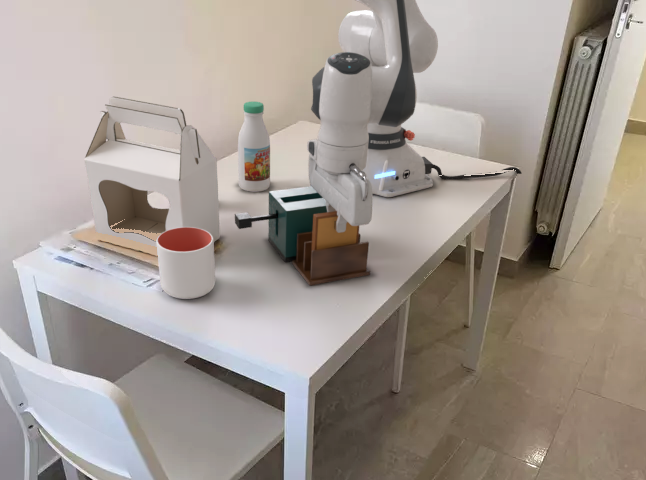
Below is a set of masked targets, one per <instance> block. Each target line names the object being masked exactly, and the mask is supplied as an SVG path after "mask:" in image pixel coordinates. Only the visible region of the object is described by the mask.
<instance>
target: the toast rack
mask: <svg viewBox="0 0 646 480" xmlns="http://www.w3.org/2000/svg"><path fill="white" fill-rule="evenodd" d="M312 232H313V231H312ZM312 232H305V233H299V234H297V256H296V260H292V261H291V264H292V265H293V267H294V268H295V269H296V270H297V272H298V273H299V274H300V275H301V277H302V278H303V279H304V280H305V281H306V283H307V284H308V286H315V285H321V284H325V283H326V284H327V283H332V282H337V281H338V282H339V281H343V280H349V279H354V278H360V277H365V276H370V275H371V270H370V269H369V268H368V258H369V257H368V256H369V246H370V242H369V241H368V240H367V241H361V233H360V232H359V236H358V243H355V244H348V245H342V246H336V247H330V248H323V249H317V250H312ZM311 250H312V253H311Z"/></svg>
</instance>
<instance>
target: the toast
mask: <svg viewBox="0 0 646 480" xmlns="http://www.w3.org/2000/svg"><path fill="white" fill-rule="evenodd" d="M337 218H338V215H337V211H334V212H326V213H318V214H313V232H312V250H317V249H323V248H330V247H336V246H342V245H348V244H355V243H358V236H359V233H360V226H352V225H350V224H349V223H348V222H347V223H346V230H345V232H340V233H338V232H337V231H336V230H335V229H334V221H337ZM312 250H311V253H312Z"/></svg>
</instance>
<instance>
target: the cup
mask: <svg viewBox="0 0 646 480" xmlns="http://www.w3.org/2000/svg"><path fill="white" fill-rule="evenodd" d="M214 243H215V242H214V241H213V236H212V235H211V234H210V233H209V232H207V231H206V230H203V229H200V228H194V227H180V228H174V229H170V230H167V231H165V232H163V233H161V234H160V235H159V236H158V237H157V239H156V246H157V255H158V257H157V263H158V264H157V265H158V273H159V274H158V275H159V281H160V282H159V284H160V287H161V290H162V291H163V292H164V293H165V294H167V295H169V296H170V297H173V298H176V299H181V300H192V299H197V298H201V297H203V296H205V295H207V294H209V293H210V292H211V291H212V290H213V289H214V287H215V284H216V266H215V264H216V263H215V245H214Z"/></svg>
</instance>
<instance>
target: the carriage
mask: <svg viewBox="0 0 646 480" xmlns="http://www.w3.org/2000/svg"><path fill="white" fill-rule="evenodd" d="M276 218H278V213H276V214H269V213H268V214H263V215H255V216H251V215H250V214H249V212H247V211H246V212H239V213H234V224H235V225H236V227H237V228H238V230H242V229H249V228H252V227H253V222H261V221H269V219H276Z"/></svg>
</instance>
